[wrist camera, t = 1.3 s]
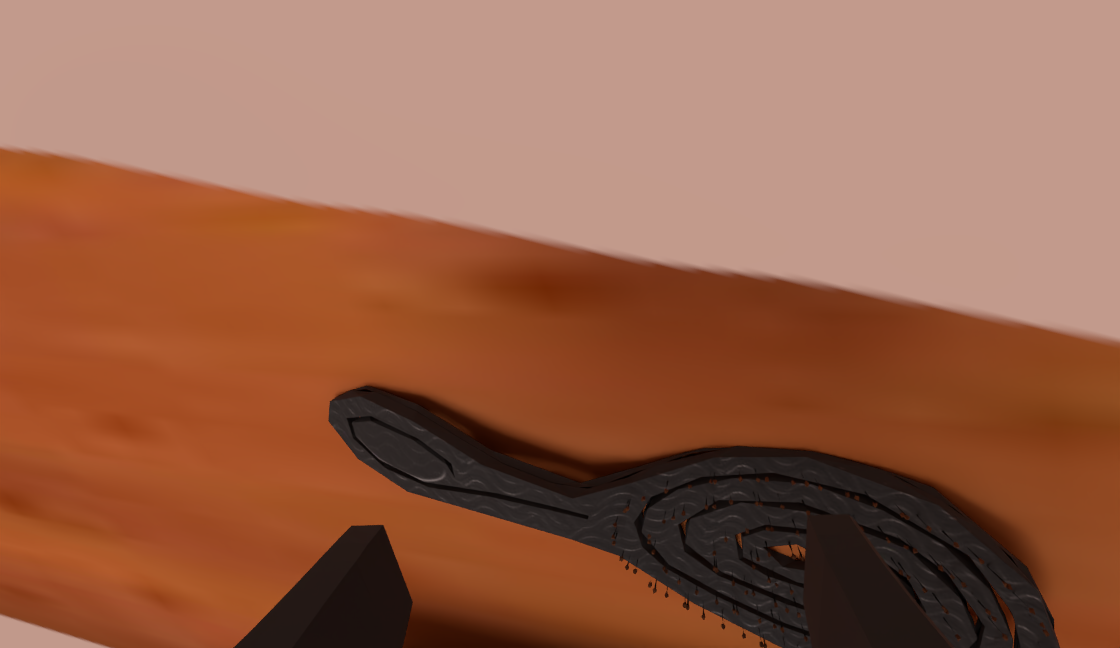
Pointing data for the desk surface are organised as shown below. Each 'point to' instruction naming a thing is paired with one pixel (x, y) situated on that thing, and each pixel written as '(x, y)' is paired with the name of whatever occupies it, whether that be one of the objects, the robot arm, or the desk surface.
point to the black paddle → (719, 522)
